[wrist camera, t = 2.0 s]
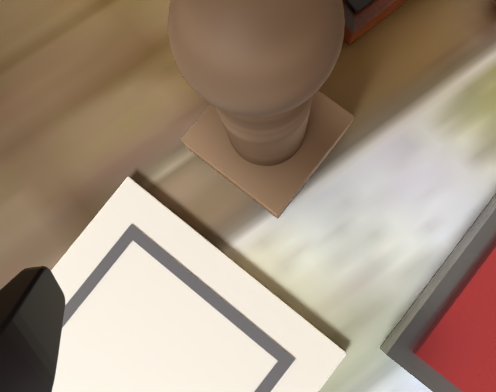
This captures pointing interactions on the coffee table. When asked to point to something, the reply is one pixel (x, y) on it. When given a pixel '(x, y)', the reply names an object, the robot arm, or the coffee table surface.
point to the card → (175, 312)
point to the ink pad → (454, 318)
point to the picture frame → (365, 15)
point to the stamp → (261, 89)
